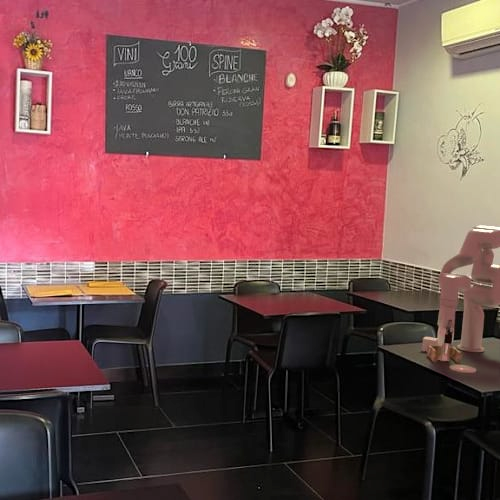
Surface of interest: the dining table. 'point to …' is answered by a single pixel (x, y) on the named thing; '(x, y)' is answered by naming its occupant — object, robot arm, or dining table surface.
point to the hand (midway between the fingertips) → (444, 340)
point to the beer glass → (443, 346)
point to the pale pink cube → (428, 343)
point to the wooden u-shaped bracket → (434, 351)
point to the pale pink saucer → (462, 368)
